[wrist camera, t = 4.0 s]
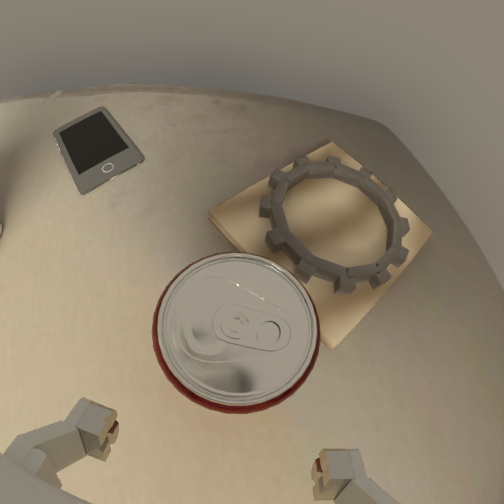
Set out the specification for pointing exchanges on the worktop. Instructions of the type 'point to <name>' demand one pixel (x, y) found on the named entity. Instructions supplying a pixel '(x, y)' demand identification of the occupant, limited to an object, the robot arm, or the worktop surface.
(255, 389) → the soda can
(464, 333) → the worktop surface
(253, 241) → the ring board
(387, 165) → the worktop surface
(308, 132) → the worktop surface
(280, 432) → the worktop surface
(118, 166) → the smartphone
